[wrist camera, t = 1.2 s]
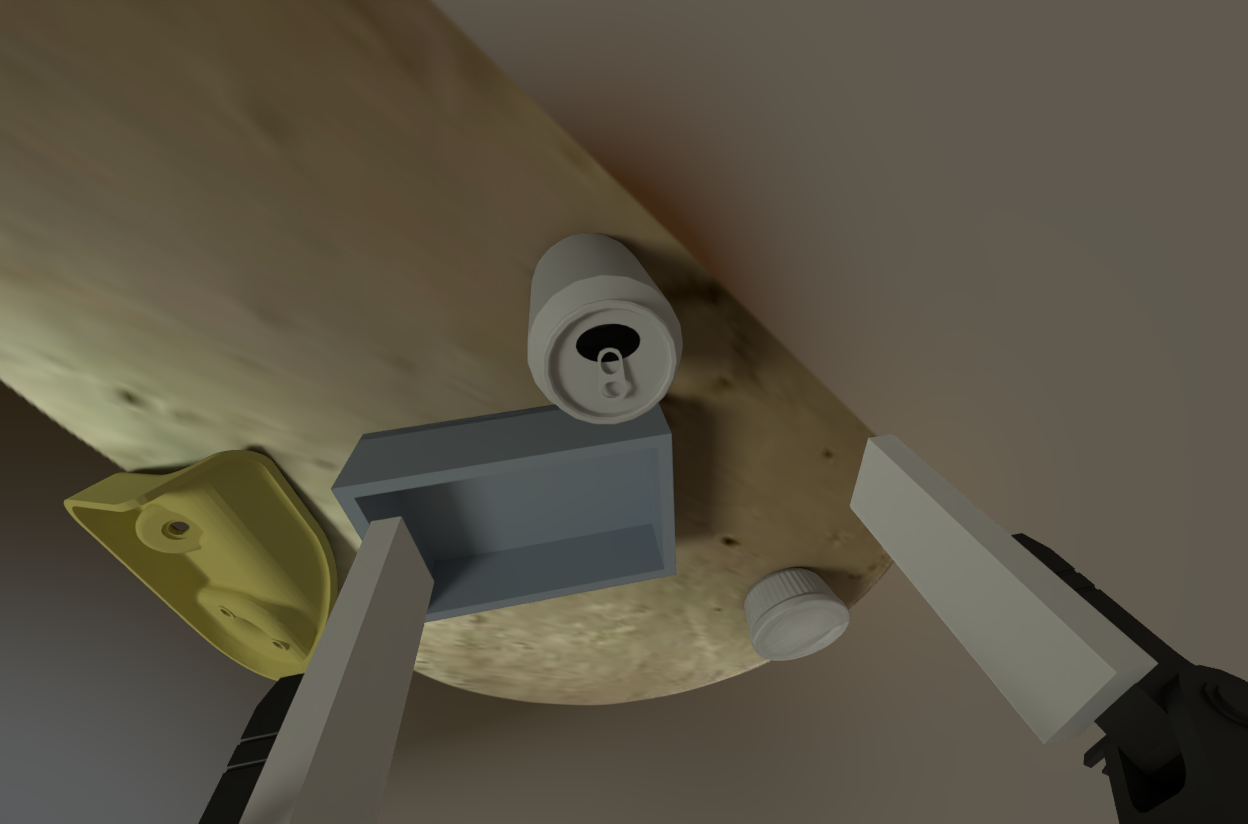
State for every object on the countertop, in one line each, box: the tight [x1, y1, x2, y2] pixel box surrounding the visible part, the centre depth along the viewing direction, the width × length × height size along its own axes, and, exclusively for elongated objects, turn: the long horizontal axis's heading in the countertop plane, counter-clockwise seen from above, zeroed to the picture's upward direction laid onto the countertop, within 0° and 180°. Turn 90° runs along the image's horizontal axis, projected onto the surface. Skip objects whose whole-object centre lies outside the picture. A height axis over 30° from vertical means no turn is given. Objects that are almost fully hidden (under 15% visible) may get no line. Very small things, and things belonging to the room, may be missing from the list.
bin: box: [331, 402, 676, 622], centre depth 35 cm, size 15×22×6 cm
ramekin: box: [744, 568, 850, 661], centre depth 51 cm, size 11×11×5 cm
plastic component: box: [64, 450, 338, 681], centre depth 35 cm, size 20×7×10 cm
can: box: [528, 233, 683, 424], centre depth 25 cm, size 8×8×12 cm
